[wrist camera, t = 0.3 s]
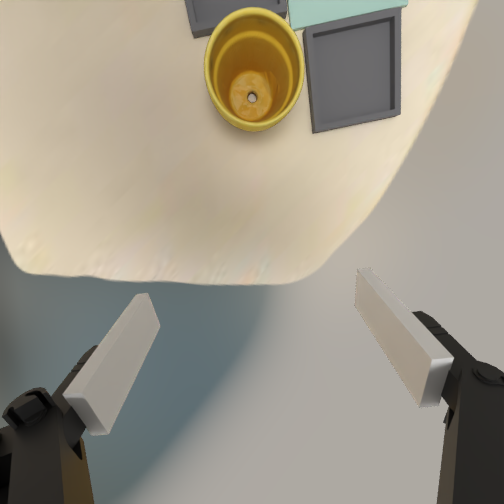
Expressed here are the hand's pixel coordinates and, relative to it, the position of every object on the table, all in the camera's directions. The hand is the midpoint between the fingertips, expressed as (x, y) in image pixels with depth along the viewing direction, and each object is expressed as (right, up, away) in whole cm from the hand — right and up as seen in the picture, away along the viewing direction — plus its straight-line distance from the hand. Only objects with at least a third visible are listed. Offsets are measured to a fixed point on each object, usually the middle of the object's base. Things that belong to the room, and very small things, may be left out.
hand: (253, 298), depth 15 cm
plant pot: (0, +25, +18) cm, 31 cm away
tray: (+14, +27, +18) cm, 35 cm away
